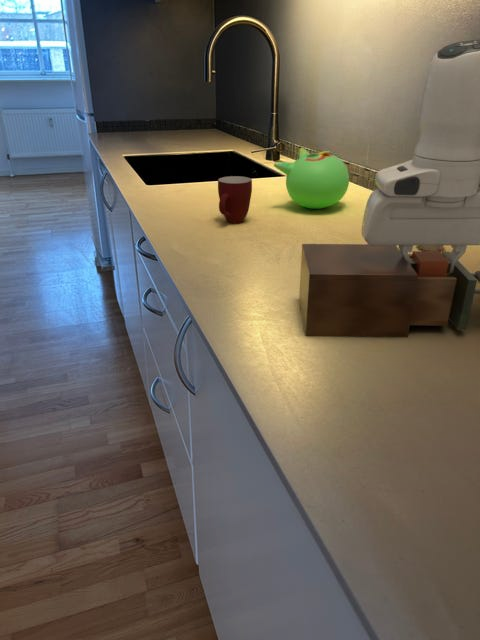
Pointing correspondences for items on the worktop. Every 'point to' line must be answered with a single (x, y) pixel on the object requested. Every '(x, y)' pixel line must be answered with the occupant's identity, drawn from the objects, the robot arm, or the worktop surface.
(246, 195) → the mug
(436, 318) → the drawer
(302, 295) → the cabinet
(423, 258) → the block
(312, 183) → the toy bird
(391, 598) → the worktop surface
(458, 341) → the worktop surface
